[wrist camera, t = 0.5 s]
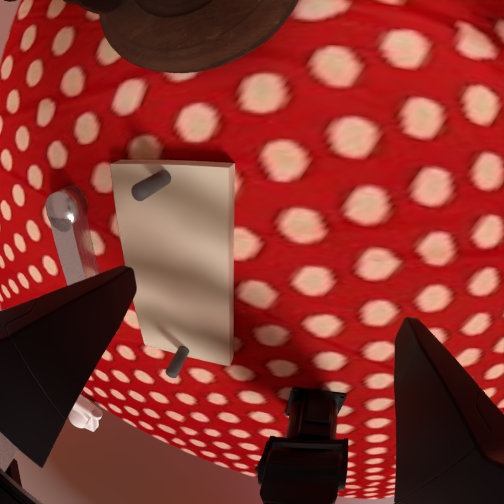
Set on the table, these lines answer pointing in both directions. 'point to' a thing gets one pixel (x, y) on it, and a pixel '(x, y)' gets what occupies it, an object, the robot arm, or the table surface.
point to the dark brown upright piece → (187, 30)
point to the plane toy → (85, 414)
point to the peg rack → (180, 254)
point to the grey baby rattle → (72, 234)
